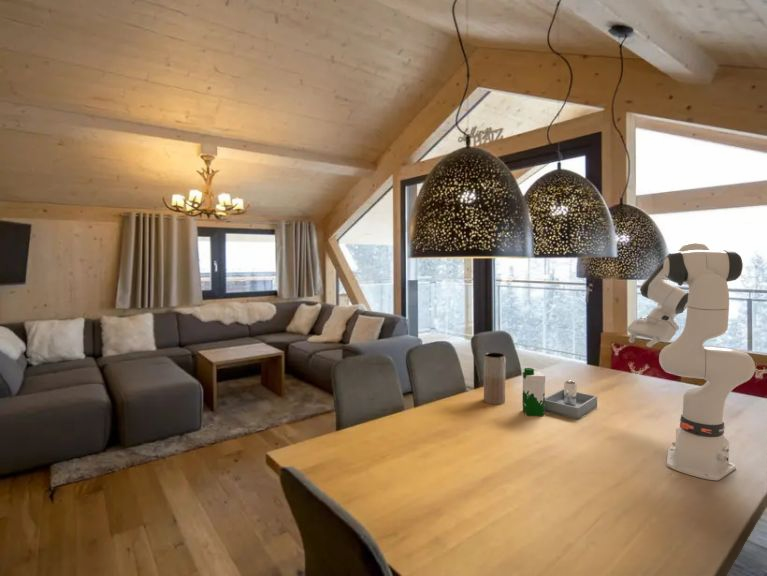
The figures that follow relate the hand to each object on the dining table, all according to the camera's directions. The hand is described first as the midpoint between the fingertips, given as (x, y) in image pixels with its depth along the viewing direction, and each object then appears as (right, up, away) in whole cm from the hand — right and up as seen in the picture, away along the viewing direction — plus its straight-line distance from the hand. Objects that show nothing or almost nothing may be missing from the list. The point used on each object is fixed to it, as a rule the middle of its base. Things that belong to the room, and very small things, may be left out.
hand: (639, 343), depth 187 cm
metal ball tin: (-26, -30, +10) cm, 41 cm away
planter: (-57, -31, +21) cm, 68 cm away
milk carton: (-44, -32, +5) cm, 55 cm away
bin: (-26, -31, +10) cm, 42 cm away
